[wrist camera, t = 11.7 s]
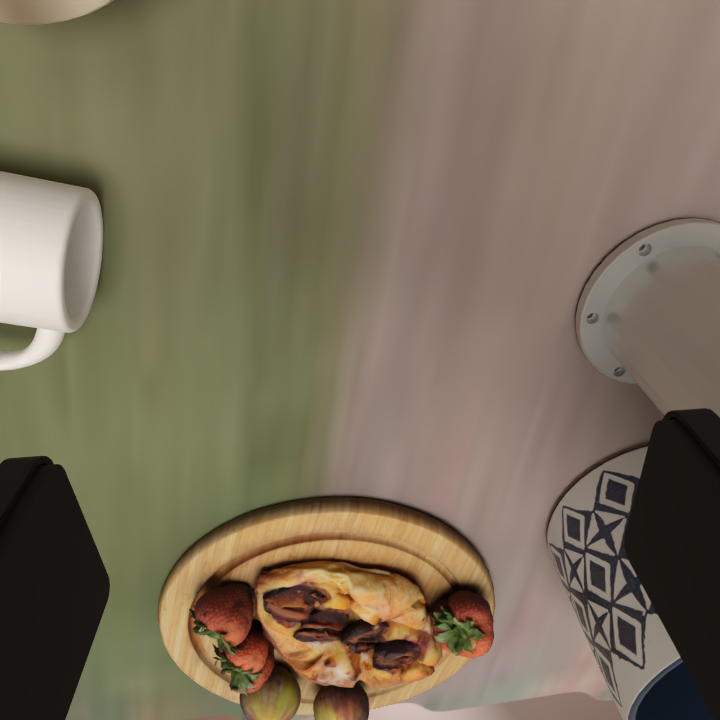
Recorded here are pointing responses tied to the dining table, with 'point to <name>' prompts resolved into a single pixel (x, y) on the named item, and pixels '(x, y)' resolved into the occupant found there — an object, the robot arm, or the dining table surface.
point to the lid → (46, 10)
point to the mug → (46, 261)
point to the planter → (619, 597)
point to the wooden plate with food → (326, 608)
